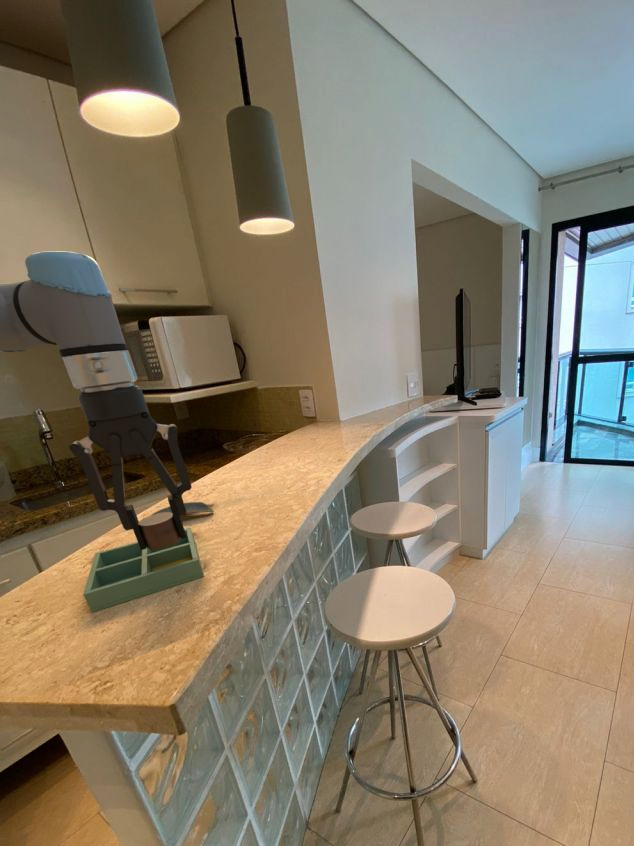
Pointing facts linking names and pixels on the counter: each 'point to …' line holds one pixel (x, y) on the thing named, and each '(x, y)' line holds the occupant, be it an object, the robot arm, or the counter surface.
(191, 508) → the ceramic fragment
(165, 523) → the brown short cylinder
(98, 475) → the robot arm
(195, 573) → the grid
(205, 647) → the counter surface
